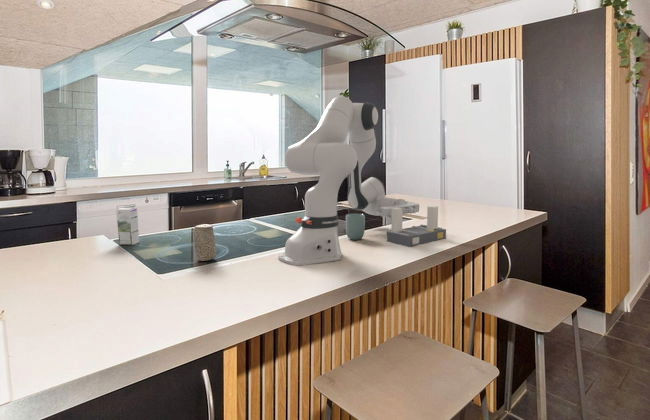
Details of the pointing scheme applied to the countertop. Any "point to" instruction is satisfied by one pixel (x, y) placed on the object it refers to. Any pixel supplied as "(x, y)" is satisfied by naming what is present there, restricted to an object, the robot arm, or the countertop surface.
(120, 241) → the syrup box
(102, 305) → the countertop surface
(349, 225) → the cup
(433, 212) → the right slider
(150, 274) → the countertop surface
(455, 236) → the countertop surface
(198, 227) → the carving
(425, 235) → the switch console
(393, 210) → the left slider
